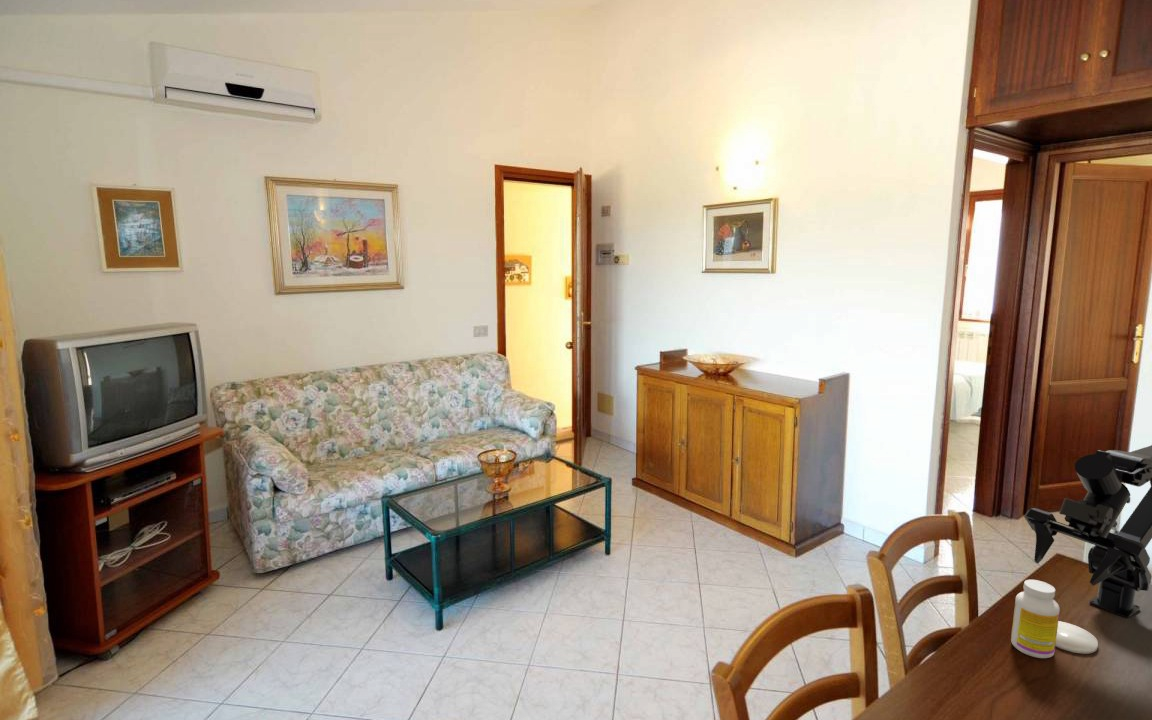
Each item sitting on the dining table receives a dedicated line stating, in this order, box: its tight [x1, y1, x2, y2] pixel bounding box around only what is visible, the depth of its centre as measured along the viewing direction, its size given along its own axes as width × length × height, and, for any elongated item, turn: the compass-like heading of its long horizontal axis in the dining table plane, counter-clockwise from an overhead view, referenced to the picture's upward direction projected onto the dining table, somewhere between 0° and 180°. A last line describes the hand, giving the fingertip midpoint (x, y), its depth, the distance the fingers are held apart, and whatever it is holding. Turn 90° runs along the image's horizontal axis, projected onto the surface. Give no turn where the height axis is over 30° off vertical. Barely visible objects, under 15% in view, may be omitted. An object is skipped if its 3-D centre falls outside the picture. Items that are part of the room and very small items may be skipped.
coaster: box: [1055, 620, 1099, 655], centre depth 119 cm, size 9×9×1 cm
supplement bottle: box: [1010, 579, 1061, 659], centre depth 115 cm, size 7×7×13 cm
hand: (1062, 572), depth 117 cm, fingers open, 9 cm apart
